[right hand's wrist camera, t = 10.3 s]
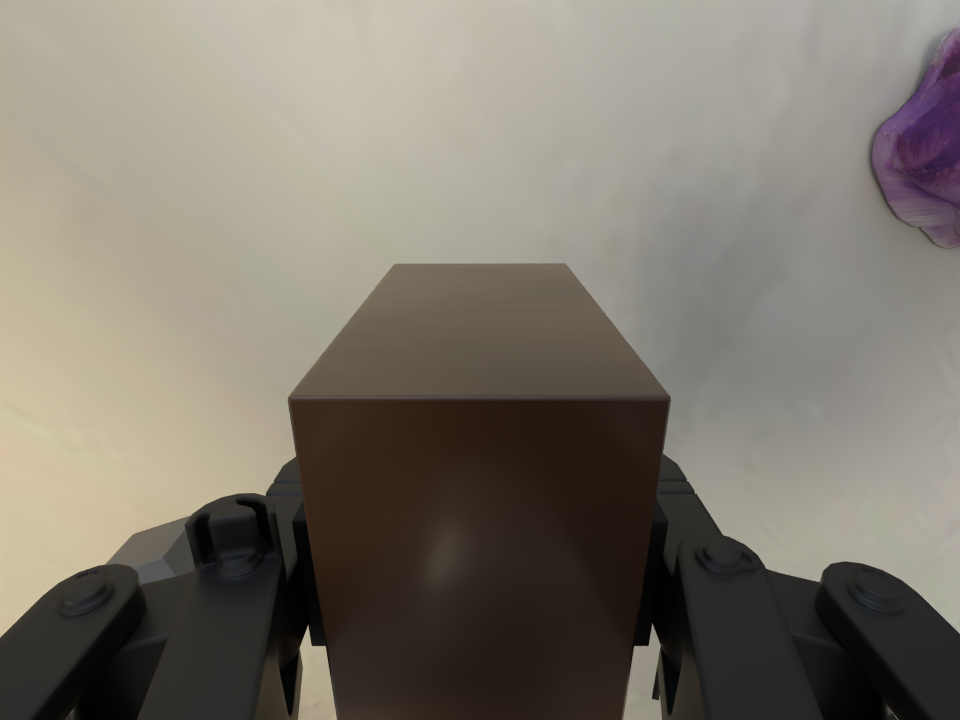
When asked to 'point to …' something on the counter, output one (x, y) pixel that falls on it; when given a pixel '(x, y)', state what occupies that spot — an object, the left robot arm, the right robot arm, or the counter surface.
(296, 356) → the counter surface
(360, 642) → the walnut beam
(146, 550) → the slate block
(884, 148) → the figurine
